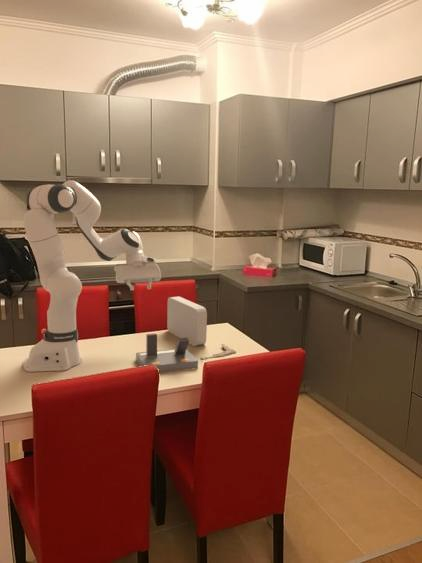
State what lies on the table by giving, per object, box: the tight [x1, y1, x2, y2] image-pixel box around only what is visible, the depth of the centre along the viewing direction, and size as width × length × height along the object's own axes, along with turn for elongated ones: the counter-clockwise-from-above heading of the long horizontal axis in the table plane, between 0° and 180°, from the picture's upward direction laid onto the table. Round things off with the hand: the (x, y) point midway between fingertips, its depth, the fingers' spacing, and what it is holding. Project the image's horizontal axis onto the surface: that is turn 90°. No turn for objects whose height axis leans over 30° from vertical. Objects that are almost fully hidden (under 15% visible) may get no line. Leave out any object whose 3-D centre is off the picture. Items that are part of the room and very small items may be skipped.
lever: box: [174, 337, 189, 355], centre depth 191 cm, size 5×2×10 cm
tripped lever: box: [145, 333, 158, 358], centre depth 189 cm, size 5×2×10 cm, turn 111°
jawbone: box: [200, 343, 237, 361], centre depth 204 cm, size 9×20×2 cm, turn 150°
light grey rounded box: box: [166, 296, 208, 347], centre depth 224 cm, size 29×8×18 cm, turn 33°
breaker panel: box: [135, 348, 199, 374], centre depth 191 cm, size 22×16×3 cm
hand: (140, 289), depth 203 cm, fingers open, 6 cm apart
